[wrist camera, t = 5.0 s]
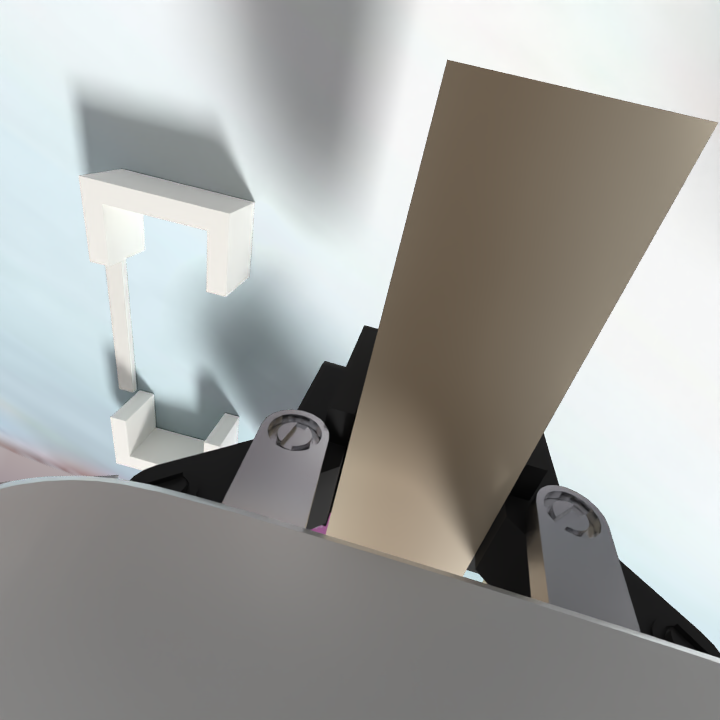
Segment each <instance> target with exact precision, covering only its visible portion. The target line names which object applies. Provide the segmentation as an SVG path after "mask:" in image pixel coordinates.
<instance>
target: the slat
mask: <svg viewBox="0 0 720 720" xmlns="http://www.w3.org/2000/svg"><path fill="white" fill-rule="evenodd" d="M717 124H718V122H713V121H709V120H705V119H700V118H696V117H692V116H687V115H683V114H679V113H674V112H670V111H666V110H662V109H657V108H653V107H649V106H644V105H640V104H636V103H631V102H627V101H623V100H618V99H614V98H610V97H605V96H601V95H597V94H593V93H588V92H584V91H580V90H575V89H571V88H567V87H562V86H558V85H554V84H549V83H545V82H541V81H537V80H532V79H528V78H524V77H519V76H515V75H511V74H506V73H502V72H498V71H493V70H489V69H485V68H480V67H476V66H472V65H468V64H463V63H459V62H455V61H450V60H447V63H446V67H445V71H444V75H443V79H442V83H441V86H440V90H439V94H438V98H437V102H436V106H435V110H434V114H433V118H432V122H431V126H430V129H429V133H428V137H427V141H426V145H425V149H424V153H423V157H422V161H421V165H420V168H419V172H418V176H417V180H416V184H415V188H414V192H413V196H412V200H411V204H410V207H409V211H408V215H407V219H406V223H405V227H404V231H403V235H402V239H401V243H400V246H399V250H398V254H397V258H396V262H395V266H394V270H393V274H392V278H391V282H390V286H389V289H388V293H387V297H386V301H385V305H384V309H383V313H382V317H381V321H380V325H379V328H378V332H377V336H376V340H375V344H374V348H373V352H372V356H371V360H370V364H369V367H368V371H367V375H366V379H365V383H364V387H363V391H362V395H361V399H360V403H359V406H358V410H357V414H356V418H355V422H354V426H353V430H352V434H351V438H350V442H349V446H348V449H347V453H346V457H345V461H344V465H343V469H342V473H341V477H340V481H339V485H338V488H337V492H336V496H335V500H334V504H333V508H332V512H331V516H330V520H329V524H328V527H327V531H326V535H328V536H332V537H335V538H338V539H342V540H345V541H348V542H351V543H355V544H358V545H361V546H365V547H368V548H371V549H375V550H378V551H381V552H384V553H388V554H391V555H394V556H397V557H400V558H404V559H407V560H410V561H413V562H417V563H420V564H423V565H426V566H430V567H433V568H436V569H439V570H443V571H446V572H449V573H452V574H456V575H459V576H462V577H463V575H464V573H465V571H466V570H467V568H468V566H469V564H470V562H471V561H472V559H473V557H474V555H475V554H476V552H477V550H478V548H479V546H480V545H481V543H482V541H483V539H484V538H485V536H486V534H487V532H488V530H489V529H490V527H491V525H492V523H493V522H494V520H495V518H496V516H497V514H498V513H499V511H500V509H501V507H502V506H503V504H504V502H505V500H506V499H507V497H508V495H509V493H510V491H511V490H512V488H513V486H514V484H515V483H516V481H517V479H518V477H519V475H520V474H521V472H522V470H523V468H524V467H525V465H526V463H527V461H528V459H529V458H530V456H531V454H532V452H533V451H534V449H535V447H536V445H537V443H538V442H539V440H540V438H541V436H542V435H543V433H544V431H545V429H546V427H547V426H548V424H549V422H550V420H551V419H552V417H553V415H554V413H555V411H556V410H557V408H558V406H559V404H560V403H561V401H562V399H563V397H564V396H565V394H566V392H567V390H568V388H569V387H570V385H571V383H572V381H573V380H574V378H575V376H576V374H577V372H578V371H579V369H580V367H581V365H582V364H583V362H584V360H585V358H586V356H587V355H588V353H589V351H590V349H591V348H592V346H593V344H594V342H595V340H596V339H597V337H598V335H599V333H600V332H601V330H602V328H603V326H604V324H605V323H606V321H607V319H608V317H609V316H610V314H611V312H612V310H613V309H614V307H615V305H616V303H617V301H618V300H619V298H620V296H621V294H622V293H623V291H624V289H625V287H626V285H627V284H628V282H629V280H630V278H631V277H632V275H633V273H634V271H635V269H636V268H637V266H638V264H639V262H640V261H641V259H642V257H643V255H644V253H645V252H646V250H647V248H648V246H649V245H650V243H651V241H652V239H653V237H654V236H655V234H656V232H657V230H658V229H659V227H660V225H661V223H662V222H663V220H664V218H665V216H666V214H667V213H668V211H669V209H670V207H671V206H672V204H673V202H674V200H675V198H676V197H677V195H678V193H679V191H680V190H681V188H682V186H683V184H684V182H685V181H686V179H687V177H688V175H689V174H690V172H691V170H692V168H693V166H694V165H695V163H696V161H697V159H698V158H699V156H700V154H701V152H702V150H703V149H704V147H705V145H706V143H707V142H708V140H709V138H710V136H711V134H712V133H713V131H714V129H715V127H716V126H717Z"/></svg>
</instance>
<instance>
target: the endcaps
mask: <svg viewBox="0 0 720 720" xmlns="http://www.w3.org/2000/svg"><path fill="white" fill-rule="evenodd" d="M79 182H80V190H81V197H82V205H83V213H84V220H85V228H86V235H87V243H88V251H89V258H90V262H94V263H97V264H101V265H105V268H106V277H107V285H108V294H109V303H110V312H111V321H112V330H113V339H114V348H115V357H116V365H117V374H118V383H119V389H122V390H125V391H129V392H133V393H134V392H135V391H136V390H137V383H136V372H135V360H134V348H133V336H132V325H131V313H130V301H129V290H128V278H127V266H126V259H127V258H129V257H132V256H134V255H136V254H138V253H140V252H143V251H145V237H144V220H143V215H147V216H151V217H155V218H159V219H163V220H167V221H171V222H175V223H179V224H183V225H186V226H190V227H194V228H198V229H202V230H206V231H207V287H206V292H209V293H213V294H217V295H221V296H225V297H226V296H228V295H229V294H230V293H231V292H232V291H234V290H235V289H236V288H237V287H238V286H240V285H241V284H242V283H243V282H244V281H245V280H247V279H248V278H249V276H250V262H251V249H252V235H253V221H254V207H255V202H252V201H248V200H244V199H240V198H236V197H232V196H228V195H224V194H220V193H216V192H212V191H208V190H204V189H200V188H196V187H192V186H188V185H184V184H180V183H176V182H172V181H168V180H164V179H160V178H157V177H153V176H149V175H145V174H141V173H137V172H133V171H129V170H125V169H117V170H111V171H105V172H98V173H92V174H86V175H79ZM110 418H111V426H112V433H113V441H114V448H115V456H116V463H117V464H121V465H124V466H128V467H132V468H135V469H139V470H145V469H147V468H150V467H153V466H155V465H158V464H162V463H166V462H170V461H174V460H177V459H181V458H185V457H189V456H193V455H196V454H200V453H204V452H208V451H212V450H215V449H219V448H223V447H227V446H231V445H234V444H237V441H238V428H239V417H238V416H234V415H231V414H227V413H225V414H224V415H223V416H222V418H221V419H220V421H219V422H218V423H217V425H216V426H215V428H214V429H213V430H212V432H211V433H210V435H209V436H208V437H207V439H206V440H205V441H204V440H200V439H197V438H193V437H189V436H186V435H182V434H178V433H175V432H171V431H167V430H163V429H160V428H156V420H155V403H154V394H152V393H149V392H145V391H141V390H139V391H138V392H137V393H136V394H135V395H134V396H133V397H132V398H131V399H130V400H129V401H127V402H126V403H125V404H124V405H123V406H122V407H121V408H120V409H119V410H118V411H116V412H115V413H114V414H113V415H112V416H111V417H110Z"/></svg>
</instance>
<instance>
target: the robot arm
mask: <svg viewBox="0 0 720 720" xmlns="http://www.w3.org/2000/svg"><path fill="white" fill-rule="evenodd" d="M377 332H378V329H376V328H372V327H369V326H365V325H364V327H363V330H362V332H361V334H360V336H359V339H358V341H357V343H356V345H355V348H354V350H353V352H352V355H351V357H350V359H349V361H348V364H347V366H346V367H344V366H341V365H337V364H334V363H330V362H327V361H324V363H323V364H322V366H321V368H320V370H319V371H318V373H317V375H316V377H315V379H314V380H313V382H312V384H311V386H310V388H309V390H308V391H307V393H306V395H305V397H304V399H303V401H302V402H301V404H300V406H299V408H298V410H282V411H279V412H275V413H273V414H271V415H270V416H268V417H266V419H265V420H264V421H263V422H262V424H261V426H260V428H259V430H258V432H257V434H256V436H255V438H254V439H253V440H250V441H246V442H242V443H238V444H234V445H231V446H227V447H223V448H219V449H215V450H212V451H208V452H204V453H200V454H196V455H193V456H189V457H185V458H181V459H177V460H174V461H170V462H166V463H162V464H158V465H155V466H153V467H150V468H147V469H145V470H143V471H141V472H140V473H138V474H137V475H135V476H134V477H133V478H132V479H131V480H129V481H128V480H122V479H119V477H118V475H111V476H94V477H92V476H55V477H54V476H51V477H38V478H29V479H24V480H17V481H9V482H2V483H0V720H720V653H719V651H718V650H717V649H716V647H715V646H714V645H713V644H712V643H711V642H710V641H709V640H708V639H707V638H706V637H705V636H704V635H703V634H702V633H701V632H700V631H699V630H698V629H697V628H696V627H695V626H694V625H692V624H691V623H690V622H689V621H688V620H687V619H686V618H684V617H683V616H682V615H681V614H680V613H679V612H678V611H677V610H675V609H674V608H673V607H672V606H671V605H670V604H669V603H668V602H666V601H665V600H664V599H663V598H662V597H661V596H660V595H658V594H657V593H656V592H655V591H654V590H653V589H652V588H651V587H649V586H648V585H647V584H646V583H645V582H644V581H643V580H642V579H640V578H639V577H638V576H637V575H636V574H635V573H634V572H632V571H631V570H630V569H629V568H628V567H627V566H626V565H625V564H623V563H622V562H621V561H620V560H619V559H618V555H617V552H616V549H615V545H614V542H613V539H612V535H611V532H610V529H609V526H608V524H607V521H606V519H605V517H604V516H603V515H602V513H601V512H600V511H599V509H598V508H597V507H596V506H595V505H594V504H592V503H591V502H590V501H589V500H588V499H587V498H585V497H584V496H582V495H580V494H579V493H577V492H575V491H573V490H571V489H568V488H566V487H562V486H559V484H558V480H557V477H556V473H555V470H554V467H553V463H552V460H551V456H550V453H549V450H548V446H547V443H546V439H545V436H544V433H543V435H542V436H541V438H540V440H539V442H538V443H537V445H536V447H535V449H534V451H533V452H532V454H531V456H530V458H529V459H528V461H527V463H526V465H525V467H524V468H523V470H522V472H521V474H520V475H519V477H518V479H517V481H516V483H515V484H514V486H513V488H512V490H511V491H510V493H509V495H508V497H507V499H506V500H505V502H504V504H503V506H502V507H501V509H500V511H499V513H498V514H497V516H496V518H495V520H494V522H493V523H492V525H491V527H490V529H489V530H488V532H487V534H486V536H485V538H484V539H483V541H482V543H481V545H480V546H479V548H478V550H477V552H476V554H475V555H474V557H473V559H472V561H471V562H470V564H469V566H468V568H467V570H469V571H472V572H475V573H478V574H480V576H481V577H482V578H483V579H484V580H483V582H482V583H481V582H478V581H475V580H472V579H469V578H465V577H462V576H459V575H456V574H452V573H449V572H446V571H443V570H439V569H436V568H433V567H430V566H426V565H423V564H420V563H417V562H413V561H410V560H407V559H404V558H400V557H397V556H394V555H391V554H388V553H384V552H381V551H378V550H375V549H371V548H368V547H365V546H361V545H358V544H355V543H351V542H348V541H345V540H342V539H338V538H335V537H332V536H328V535H325V534H322V533H318V532H315V531H312V530H311V529H313V528H316V527H318V526H321V525H323V526H326V525H327V522H328V519H329V516H330V513H331V512H332V508H333V504H334V500H335V496H336V492H337V488H338V485H339V481H340V477H341V473H342V469H343V465H344V461H345V457H346V453H347V449H348V446H349V442H350V438H351V434H352V430H353V426H354V422H355V418H356V414H357V410H358V406H359V403H360V399H361V395H362V391H363V387H364V383H365V379H366V375H367V371H368V367H369V364H370V360H371V356H372V352H373V348H374V344H375V340H376V336H377Z"/></svg>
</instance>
